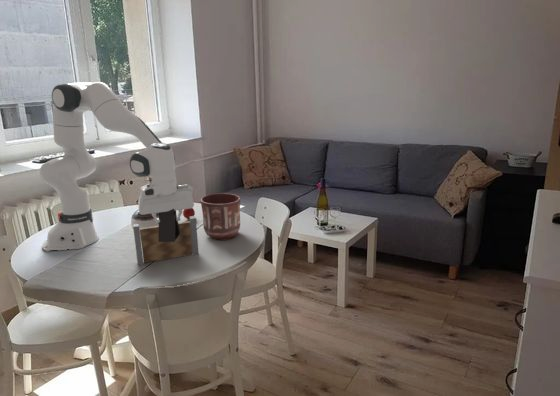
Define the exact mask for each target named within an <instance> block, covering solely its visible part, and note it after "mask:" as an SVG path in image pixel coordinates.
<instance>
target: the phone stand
mask: <svg viewBox="0 0 560 396" xmlns="http://www.w3.org/2000/svg"><path fill="white" fill-rule="evenodd" d="M157 214H158V218H159V219H160V222H159V224H158V226H159V242H175V240H176V239H177V237H178V236H179V235H180V228H179V224H178V223H179V221H176V217H177V216H178V214H177V210H175V211H174V209H172V210H170V211H167V212H160V213H157Z"/></svg>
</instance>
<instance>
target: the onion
mask: <svg viewBox="0 0 560 396" xmlns="http://www.w3.org/2000/svg"><path fill="white" fill-rule="evenodd" d="M182 211H183V212H182V216H183V217H184V219H186V220H187V221H190V216H195V214H196V211H195V210H194V207H193V208H190V209H183V210H182Z"/></svg>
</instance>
